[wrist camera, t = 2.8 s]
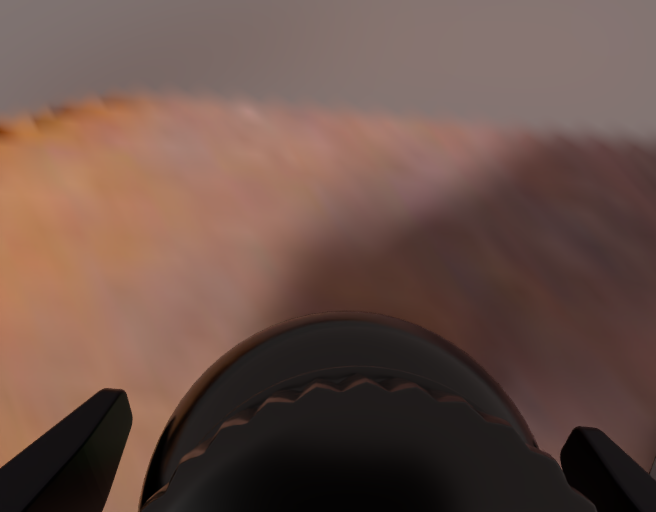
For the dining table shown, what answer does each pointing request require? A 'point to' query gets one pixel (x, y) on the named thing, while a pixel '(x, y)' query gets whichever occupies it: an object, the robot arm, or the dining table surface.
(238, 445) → the supplement bottle
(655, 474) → the tray
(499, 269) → the dining table surface
